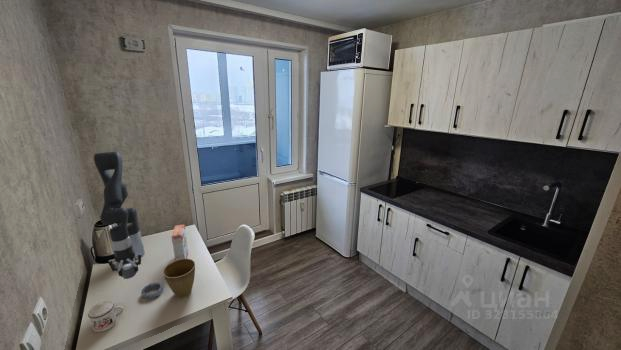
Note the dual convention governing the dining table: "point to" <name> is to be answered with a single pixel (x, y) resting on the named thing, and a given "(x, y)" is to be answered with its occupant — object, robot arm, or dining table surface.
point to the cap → (128, 271)
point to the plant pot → (180, 276)
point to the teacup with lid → (103, 316)
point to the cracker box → (180, 242)
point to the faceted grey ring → (151, 286)
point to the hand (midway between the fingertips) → (129, 273)
